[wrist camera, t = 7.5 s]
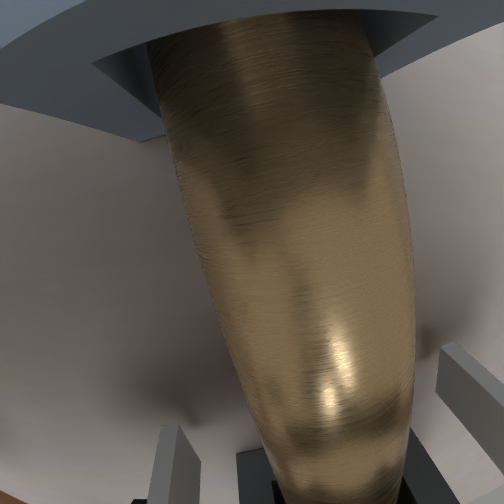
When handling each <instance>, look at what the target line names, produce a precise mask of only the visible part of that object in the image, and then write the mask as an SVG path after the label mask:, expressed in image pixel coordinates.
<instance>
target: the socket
mask: <svg viewBox="0 0 504 504" xmlns="http://www.w3.org/2000/svg"><path fill="white" fill-rule="evenodd" d="M236 460H237V475H238V490H239V503H240V504H286V502H285V500H284V497H283V495H282V492H281V490H280V487H279V485H278V483H277V480H276V478H275V475H274V473H273V470H272V468H271V465H270V463H269V460H268V458H267V455H266V452H265V450H264V449H259V450H254V451H249V452H244V453H238V454H236ZM396 504H460V503H459V501H458V500H457V498H456V497H455V495H454V493H453V492H452V490H451V489H450V487H449V485H448V484H447V482H446V481H445V479H444V478H443V476H442V475H441V473H440V471H439V470H438V468H437V467H436V465H435V464H434V462H433V461H432V459H431V458H430V456H429V455H428V453H427V452H426V450H425V448H424V447H423V445H422V444H421V442H420V441H419V439H418V438H417V436H416V435H415V433H414V432H413V430H412V429H411V427H410V430H409V438H408V445H407V451H406V458H405V464H404V469H403V475H402V480H401V485H400V489H399V494H398V499H397V503H396Z"/></svg>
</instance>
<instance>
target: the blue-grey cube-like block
mask: <svg viewBox="0 0 504 504" xmlns="http://www.w3.org/2000/svg"><path fill="white" fill-rule="evenodd" d="M323 9H356V10H357V13H358V15H359V18H360V20H361V23H362V25H363V28H364V31H365V34H366V36H367V39H368V42H369V45H370V48H371V51H372V54H373V57H374V60H375V63H376V66H377V69H378V73H379V76H380V79H381V78H383V77H385V76H386V75H388V74H390V73H392V72H394V71H396V70H398V69H400V68H402V67H404V66H406V65H408V64H410V63H412V62H414V61H416V60H418V59H420V58H422V57H424V56H426V55H428V54H430V53H432V52H434V51H436V50H439V49H441V48H443V47H445V46H447V45H449V44H452V43H454V42H456V41H458V40H461V39H463V38H465V37H467V36H470V35H472V34H474V33H477V32H479V31H482V30H484V29H486V28H489V27H491V26H494V25H496V24H499V23H502V22H504V0H0V103H1V104H5V105H9V106H14V107H18V108H22V109H26V110H30V111H34V112H38V113H42V114H45V115H49V116H53V117H57V118H60V119H64V120H67V121H71V122H74V123H78V124H81V125H85V126H88V127H92V128H95V129H98V130H102V131H105V132H108V133H112V134H115V135H118V136H121V137H124V138H127V139H131V140H134V141H137V142H142V141H145V140H148V139H151V138H154V137H157V136H161V135H164V134H166V132H165V128H164V124H163V120H162V116H161V111H160V107H159V103H158V98H157V94H156V89H155V85H154V80H153V75H152V71H151V66H150V61H149V56H148V51H147V46H146V42H147V41H150V40H154V39H157V38H160V37H163V36H167V35H170V34H174V33H177V32H181V31H184V30H188V29H192V28H196V27H200V26H205V25H209V24H214V23H218V22H223V21H228V20H234V19H239V18H245V17H251V16H258V15H265V14H273V13H282V12H292V11H305V10H323Z"/></svg>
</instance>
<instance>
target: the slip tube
mask: <svg viewBox="0 0 504 504" xmlns="http://www.w3.org/2000/svg"><path fill="white" fill-rule="evenodd" d="M146 46H147V51H148V56H149V61H150V66H151V71H152V75H153V80H154V85H155V89H156V94H157V98H158V103H159V107H160V111H161V116H162V120H163V124H164V128H165V132H166V137H167V141H168V145H169V149H170V153H171V157H172V161H173V165H174V168H175V172H176V176H177V180H178V184H179V188H180V191H181V195H182V199H183V202H184V206H185V210H186V213H187V217H188V220H189V224H190V228H191V231H192V235H193V238H194V242H195V245H196V248H197V252H198V255H199V259H200V262H201V265H202V269H203V272H204V275H205V279H206V282H207V285H208V288H209V292H210V295H211V298H212V301H213V304H214V307H215V311H216V314H217V317H218V320H219V323H220V326H221V329H222V332H223V335H224V338H225V341H226V344H227V347H228V350H229V353H230V356H231V359H232V362H233V365H234V368H235V371H236V374H237V377H238V379H239V382H240V385H241V388H242V391H243V394H244V396H245V399H246V402H247V405H248V407H249V410H250V413H251V416H252V418H253V421H254V424H255V426H256V429H257V432H258V434H259V437H260V440H261V442H262V445H263V447H264V450H265V452H266V455H267V458H268V460H269V463H270V465H271V468H272V470H273V473H274V475H275V478H276V480H277V483H278V485H279V487H280V490H281V492H282V495H283V497H284V500H285V502H286V504H396V503H397V499H398V494H399V489H400V485H401V480H402V475H403V469H404V464H405V458H406V451H407V445H408V438H409V430H410V422H411V413H412V402H413V390H414V375H415V351H416V304H415V279H414V263H413V251H412V240H411V230H410V222H409V213H408V206H407V199H406V192H405V186H404V180H403V174H402V168H401V163H400V157H399V152H398V147H397V143H396V138H395V133H394V129H393V125H392V121H391V116H390V112H389V108H388V104H387V101H386V97H385V93H384V90H383V86H382V83H381V79H380V76H379V73H378V69H377V66H376V63H375V60H374V57H373V54H372V51H371V48H370V45H369V42H368V39H367V36H366V34H365V31H364V28H363V25H362V23H361V20H360V18H359V15H358V13H357V10H356V9H323V10H305V11H292V12H282V13H273V14H265V15H258V16H251V17H245V18H239V19H234V20H228V21H223V22H218V23H214V24H209V25H205V26H200V27H196V28H192V29H188V30H184V31H181V32H177V33H174V34H170V35H167V36H163V37H160V38H157V39H154V40H150V41H147V42H146Z"/></svg>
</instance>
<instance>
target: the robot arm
mask: <svg viewBox="0 0 504 504" xmlns="http://www.w3.org/2000/svg"><path fill="white" fill-rule="evenodd" d="M435 392H436V393H437V394H438V396H439V397H440V398H441V399H442V400H443V401H444V403H445V404H446V405H447V406H448V407H449V408H450V410H451V411H452V412H453V413H454V414H455V416H456V417H457V418H458V419H459V420H460V422H461V423H462V424H463V425H464V426H465V428H466V429H467V430H468V431H469V432H470V434H471V435H472V436H473V437H474V438H475V440H476V441H477V442H478V443H479V445H480V446H481V447H482V448H483V449H484V451H485V452H486V453H487V454H488V456H489V457H490V458H491V459H492V461H493V462H494V463H495V464H496V466H497V467H498V468H499V469H500V471H501V472H502V473H503V475H504V384H503V383H502V382H500V381H499V380H498V379H497V378H496V377H495V376H494V375H493V374H491V373H490V372H489V371H488V370H487V369H486V368H485V367H483V366H482V365H481V364H480V363H479V362H478V361H477V360H475V359H474V358H473V357H472V356H471V355H470V354H468V353H467V352H466V351H465V350H464V349H462V348H461V347H460V346H459V345H458V344H457V343H455V342H454V341H452V342H450V343H447V344H445V345H443V346H441V347H440V354H439V365H438V375H437V383H436V391H435ZM200 472H201V461H200V459H199V458H198V456H197V454H196V453H195V451H194V449H193V448H192V446H191V444H190V443H189V441H188V439H187V438H186V436H185V434H184V432H183V431H182V429H181V427H180V425H179V423H178V424H170V425H162V426H161V430H160V435H159V440H158V445H157V451H156V456H155V461H154V466H153V472H152V477H151V483H150V488H149V494H148V499H134V500H133V501H132V503H131V504H199V498H200Z"/></svg>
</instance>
